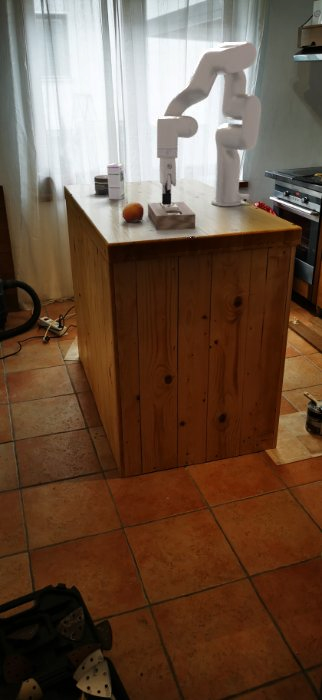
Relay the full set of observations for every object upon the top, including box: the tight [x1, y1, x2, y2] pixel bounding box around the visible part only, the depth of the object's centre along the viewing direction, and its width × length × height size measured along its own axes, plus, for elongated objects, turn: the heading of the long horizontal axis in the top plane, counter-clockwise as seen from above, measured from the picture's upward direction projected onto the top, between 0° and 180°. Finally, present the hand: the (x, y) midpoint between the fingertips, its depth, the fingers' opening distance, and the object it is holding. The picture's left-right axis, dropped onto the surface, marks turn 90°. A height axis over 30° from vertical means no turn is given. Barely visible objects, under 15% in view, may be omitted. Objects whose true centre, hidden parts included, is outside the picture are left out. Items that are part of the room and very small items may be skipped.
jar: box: [93, 174, 109, 196], centre depth 257 cm, size 10×10×8 cm
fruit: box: [122, 202, 145, 223], centre depth 209 cm, size 8×8×8 cm
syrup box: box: [106, 162, 125, 200], centre depth 246 cm, size 6×6×14 cm
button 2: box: [164, 204, 178, 210], centre depth 206 cm, size 4×4×2 cm
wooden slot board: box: [147, 201, 196, 231], centre depth 208 cm, size 14×22×5 cm, turn 9°
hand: (166, 204), depth 212 cm, fingers closed
